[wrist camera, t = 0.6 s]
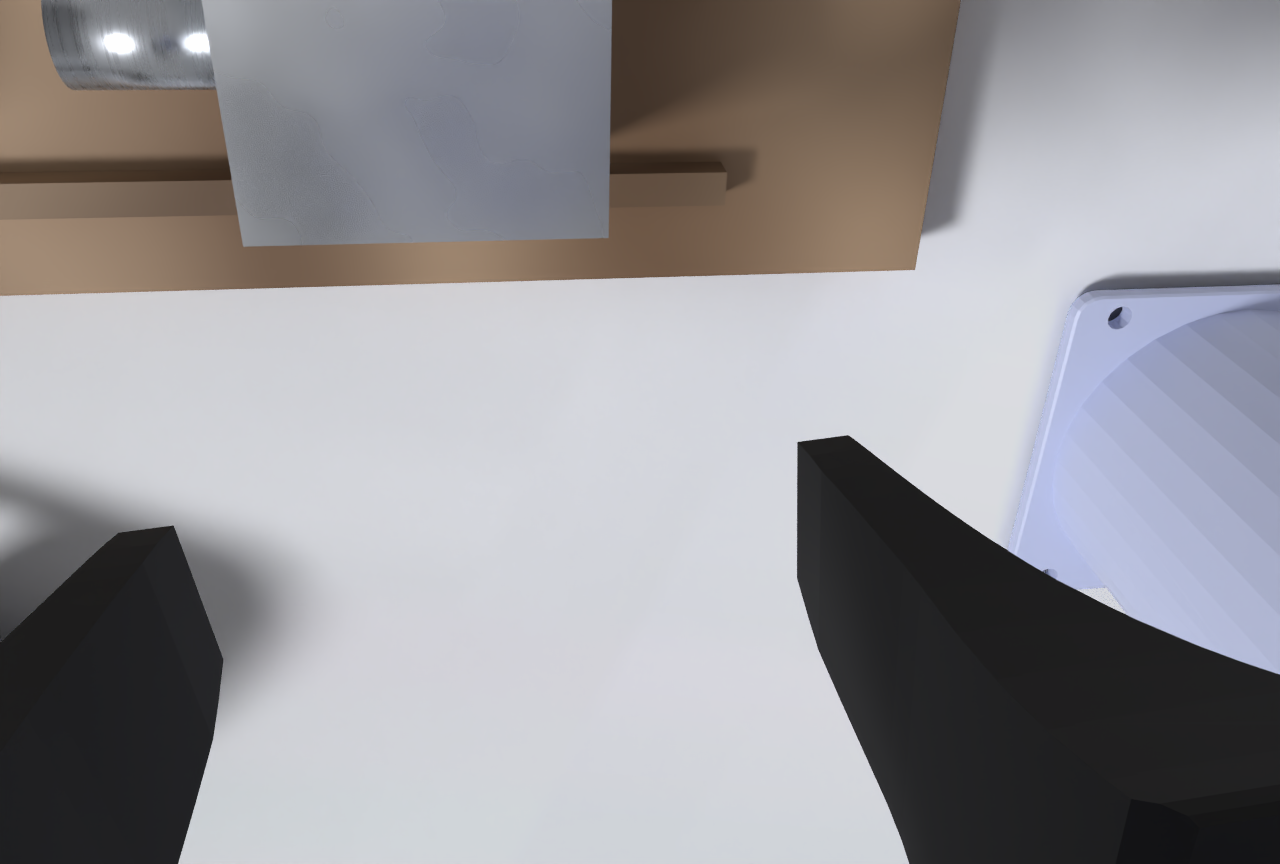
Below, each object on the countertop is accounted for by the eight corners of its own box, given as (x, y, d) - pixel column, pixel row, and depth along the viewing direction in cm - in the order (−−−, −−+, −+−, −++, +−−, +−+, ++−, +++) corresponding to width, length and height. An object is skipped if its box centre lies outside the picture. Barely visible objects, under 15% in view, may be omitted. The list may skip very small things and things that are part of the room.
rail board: (989, -356, 17) (1218, -404, 12) (894, 246, 22) (1025, 396, 17) (-613, -436, 14) (-1230, -542, 9) (-296, 276, 20) (-574, 467, 14)
